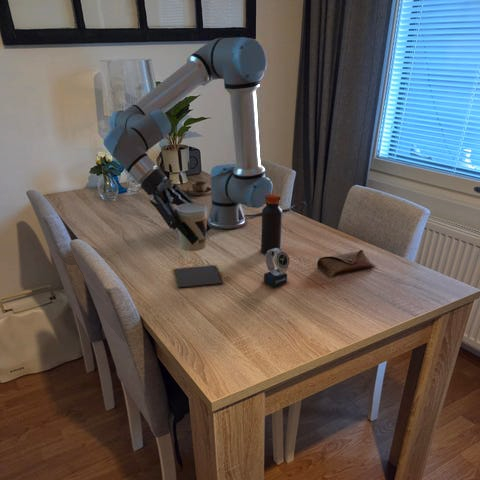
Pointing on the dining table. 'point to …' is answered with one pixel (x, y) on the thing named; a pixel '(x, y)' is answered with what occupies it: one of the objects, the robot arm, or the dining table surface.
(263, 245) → the bottle
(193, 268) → the coaster
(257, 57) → the robot arm
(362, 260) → the sunglasses case
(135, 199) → the dining table surface
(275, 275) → the watch
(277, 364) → the dining table surface
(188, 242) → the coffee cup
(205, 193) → the place setting
